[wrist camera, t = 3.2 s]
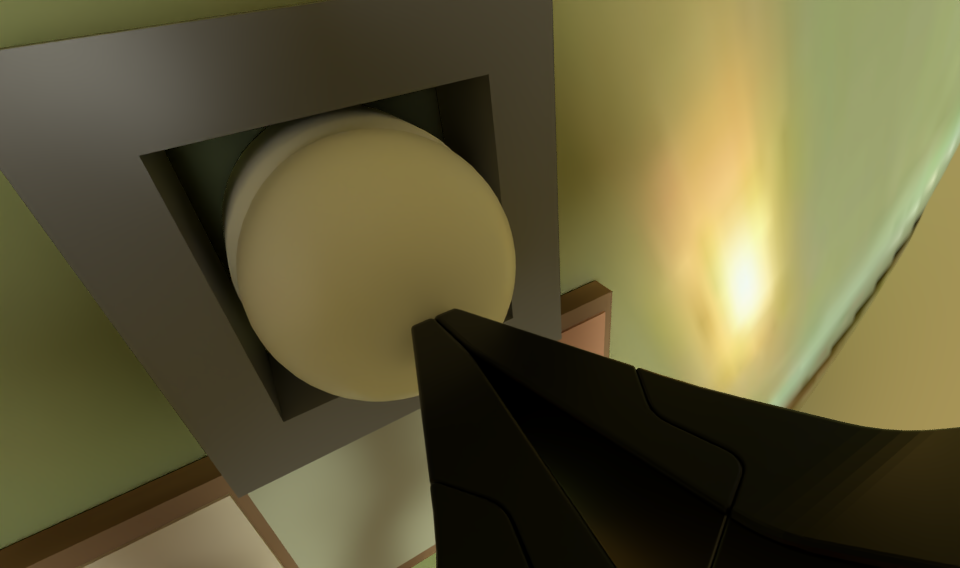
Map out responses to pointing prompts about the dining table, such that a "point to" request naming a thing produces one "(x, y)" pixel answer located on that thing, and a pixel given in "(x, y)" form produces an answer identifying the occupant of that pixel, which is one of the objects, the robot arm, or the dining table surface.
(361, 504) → the game board
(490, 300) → the cream cylinder
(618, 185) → the dining table surface
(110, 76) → the base
